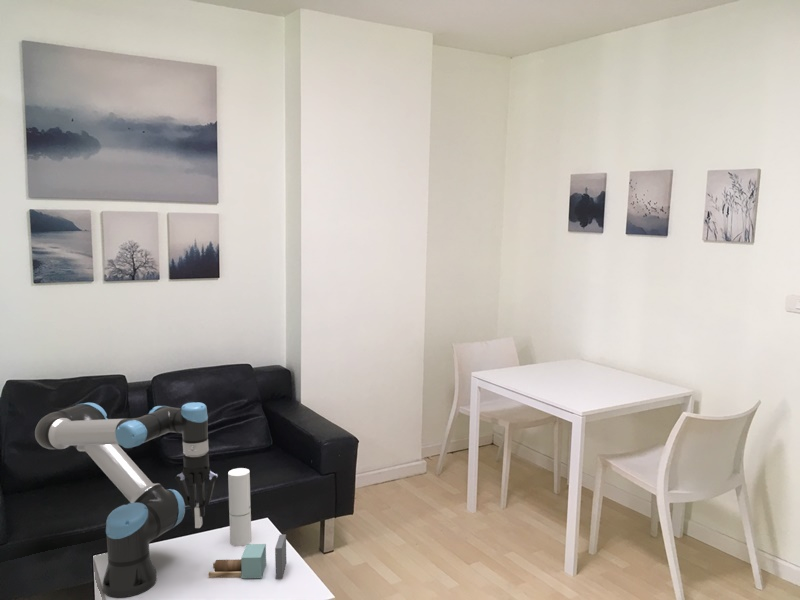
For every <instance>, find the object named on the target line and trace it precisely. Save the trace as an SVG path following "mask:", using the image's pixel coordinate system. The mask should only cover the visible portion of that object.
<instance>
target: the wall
mask: <svg viewBox="0 0 800 600" xmlns="http://www.w3.org/2000/svg"><path fill="white" fill-rule="evenodd" d="M274 551H275V552H274V554H275V557H274V558H275V560H274V561H275V563H274V564H275V580H283V579H284V574H285V572H286V571H285V570H286V567H287V534H279V536H278V538H277V542H276V544H275V548H274Z"/></svg>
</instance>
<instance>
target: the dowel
mask: <svg viewBox="0 0 800 600" xmlns="http://www.w3.org/2000/svg"><path fill="white" fill-rule="evenodd" d="M214 563H215V566H214V568H213V572H233V571H241V573H242V567H241V559H239V558H238V559H216V560H215V561H214Z"/></svg>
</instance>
